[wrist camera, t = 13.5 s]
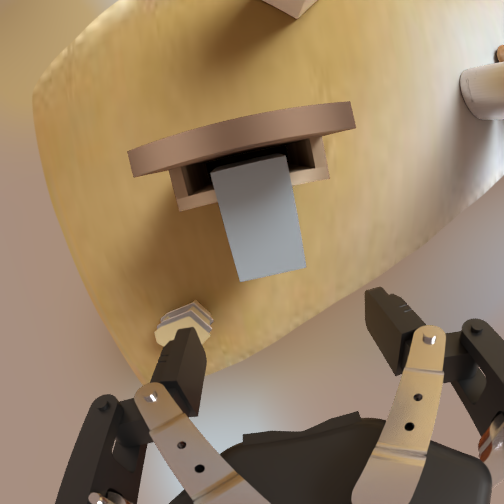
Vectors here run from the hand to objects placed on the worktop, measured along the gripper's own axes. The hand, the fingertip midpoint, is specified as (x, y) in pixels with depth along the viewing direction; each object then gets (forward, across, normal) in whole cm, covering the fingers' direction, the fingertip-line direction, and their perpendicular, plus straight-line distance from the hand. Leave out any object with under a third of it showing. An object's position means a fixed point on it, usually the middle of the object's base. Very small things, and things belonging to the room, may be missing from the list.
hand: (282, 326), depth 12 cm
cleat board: (+24, 0, -6) cm, 25 cm away
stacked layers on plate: (+24, +13, +12) cm, 30 cm away
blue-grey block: (+20, 0, -3) cm, 20 cm away
